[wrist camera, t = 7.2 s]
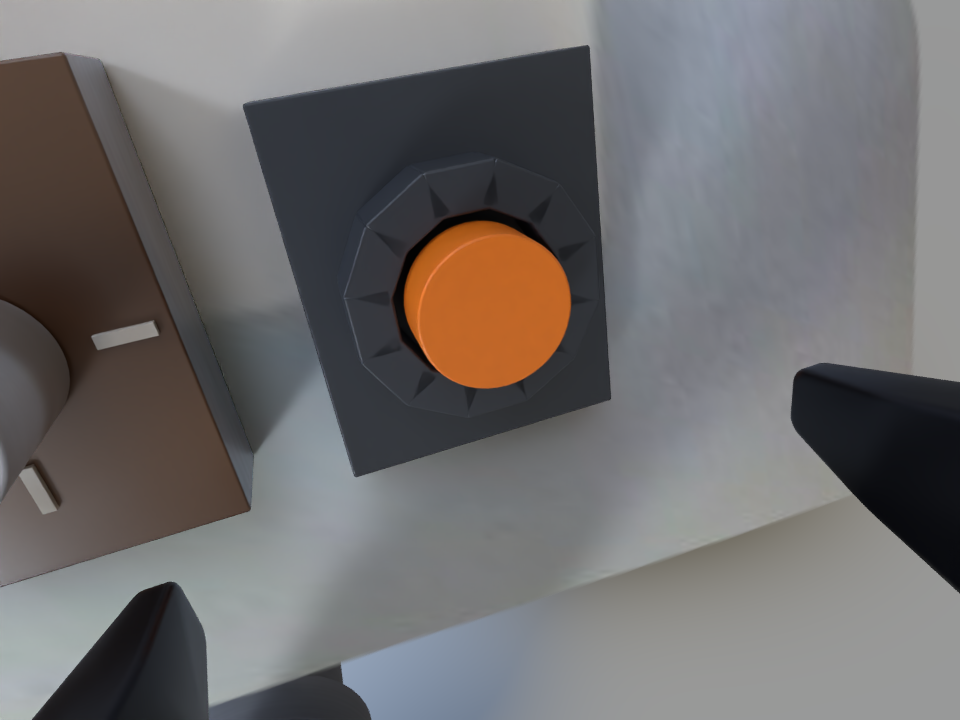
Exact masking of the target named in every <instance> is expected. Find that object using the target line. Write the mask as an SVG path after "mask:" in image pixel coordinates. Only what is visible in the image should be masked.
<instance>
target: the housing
mask: <svg viewBox="0 0 960 720" xmlns="http://www.w3.org/2000/svg"><path fill="white" fill-rule="evenodd" d="M243 109H244V112H245V115H246V119H247V122H248V125H249V129H250V132H251V135H252V139H253V142H254V145H255V148H256V152H257V155H258V158H259V162H260V165H261V168H262V172H263V175H264V178H265V182H266V185H267V188H268V192H269V195H270V198H271V202H272V205H273V208H274V212H275V215H276V218H277V222H278V225H279V228H280V231H281V235H282V238H283V241H284V245H285V248H286V251H287V255H288V258H289V261H290V265H291V268H292V271H293V275H294V278H295V281H296V285H297V288H298V291H299V295H300V298H301V301H302V305H303V308H304V311H305V314H306V318H307V321H308V324H309V328H310V331H311V334H312V338H313V341H314V344H315V348H316V351H317V354H318V358H319V361H320V364H321V368H322V371H323V374H324V378H325V381H326V384H327V388H328V391H329V394H330V397H331V401H332V404H333V407H334V411H335V414H336V417H337V421H338V424H339V427H340V431H341V434H342V437H343V441H344V444H345V447H346V451H347V454H348V457H349V461H350V464H351V467H352V471H353V474H354V476H355V477H359V476H362V475H365V474H368V473H372V472H375V471H378V470H382V469H385V468H388V467H391V466H395V465H398V464H401V463H404V462H408V461H411V460H414V459H418V458H421V457H424V456H427V455H431V454H434V453H437V452H440V451H444V450H447V449H450V448H454V447H457V446H460V445H463V444H467V443H470V442H473V441H476V440H480V439H483V438H486V437H490V436H493V435H496V434H499V433H503V432H506V431H509V430H512V429H516V428H519V427H522V426H526V425H529V424H532V423H535V422H539V421H542V420H545V419H548V418H552V417H555V416H558V415H562V414H565V413H568V412H571V411H575V410H578V409H581V408H584V407H588V406H591V405H594V404H598V403H601V402H604V401H607V400H610V399H611V391H610V375H609V358H608V342H607V326H606V309H605V293H604V276H603V260H602V243H601V227H600V211H599V194H598V178H597V161H596V145H595V129H594V112H593V96H592V79H591V63H590V47H589V46H588V45H585V46H578V47H571V48H564V49H557V50H551V51H545V52H539V53H533V54H528V55H522V56H516V57H510V58H504V59H498V60H492V61H487V62H481V63H475V64H469V65H463V66H457V67H451V68H445V69H440V70H434V71H428V72H422V73H416V74H410V75H404V76H398V77H393V78H387V79H381V80H375V81H369V82H363V83H357V84H351V85H346V86H340V87H334V88H328V89H322V90H316V91H310V92H305V93H299V94H293V95H287V96H281V97H275V98H269V99H263V100H258V101H252V102H247V103H245V104H244V105H243ZM471 221H493V222H498V223H501V224H505V225H507V226H509V227H512V228H514V229H515V230H517V231H519V232H520V233H522V234H524V235H526V236H527V237H529V238H531V239H533V240H534V241H536V242H538V243H539V244H541V245H542V246H544V247H545V248H546V249H548V250H549V251H550V252H551V253H552V254H553V255H554V256H555V258H556V259H557V260H558V261H559V263H560V265H561V266H562V268H563V270H564V272H565V274H566V276H567V280H568V283H569V287H570V294H571V312H570V318H569V322H568V326H567V329H566V332H565V335H564V337H563V339H562V341H561V343H560V344H559V346H558V348H557V349H556V351H555V352H554V353H553V355H552V356H551V357H550V358H549V360H548V361H547V362H546V363H545V364H544V365H543V366H542V367H540V368H539V369H538V370H536V371H535V372H534V373H532V374H531V375H529V376H528V377H526V378H524V379H522V380H520V381H518V382H516V383H513V384H510V385H507V386H503V387H498V388H489V389H487V388H474V387H468V386H464V385H461V384H458V383H456V382H454V381H452V380H450V379H448V378H447V377H445V376H444V375H442V374H441V373H440V372H439V371H438V370H436V368H435V367H434V366H433V365H432V364H431V363H430V361H429V360H428V358H427V357H426V355H425V354H424V352H423V350H422V348H421V347H420V345H419V343H418V341H417V340H416V338H415V336H414V334H413V333H412V331H411V329H410V326H409V324H408V322H407V318H406V315H405V309H404V289H405V283H406V279H407V275H408V273H409V270H410V268H411V266H412V264H413V262H414V260H415V259H416V257H417V256H418V254H419V253H420V251H421V250H422V249H423V248H424V247H425V246H426V245H427V244H428V243H429V241H431V240H432V239H433V238H434V237H436V236H437V235H438V234H440V233H441V232H443V231H445V230H446V229H449V228H451V227H453V226H455V225H458V224H462V223H465V222H471Z"/></svg>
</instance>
